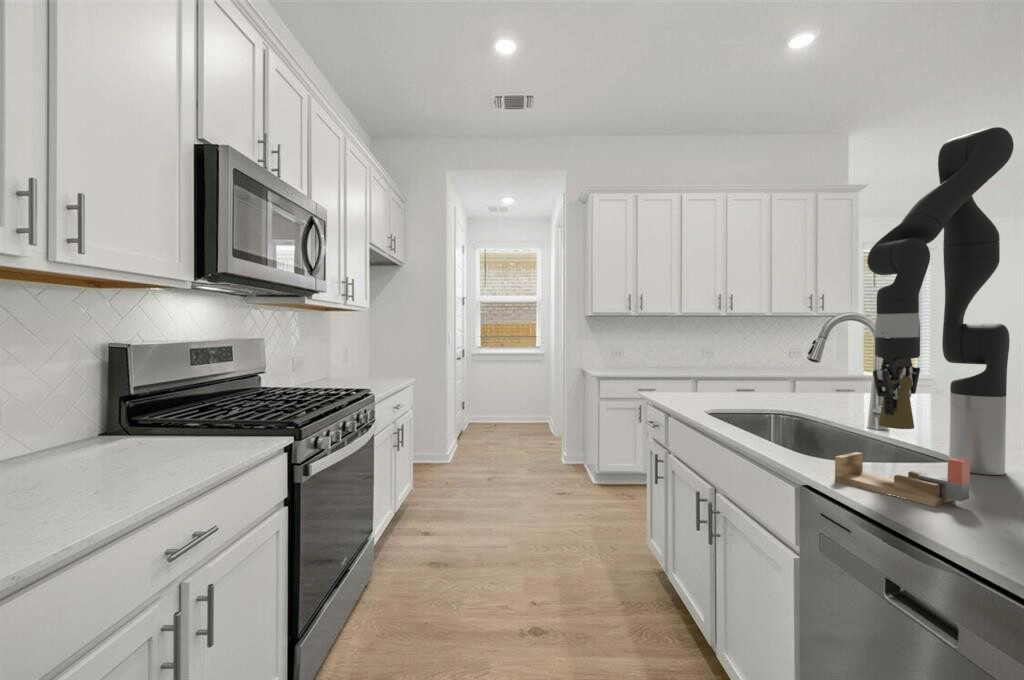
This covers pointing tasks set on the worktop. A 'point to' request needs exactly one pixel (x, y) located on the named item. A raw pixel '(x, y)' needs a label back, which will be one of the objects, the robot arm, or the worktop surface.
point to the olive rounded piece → (899, 408)
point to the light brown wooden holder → (887, 481)
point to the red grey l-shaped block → (952, 480)
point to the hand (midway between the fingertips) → (896, 415)
